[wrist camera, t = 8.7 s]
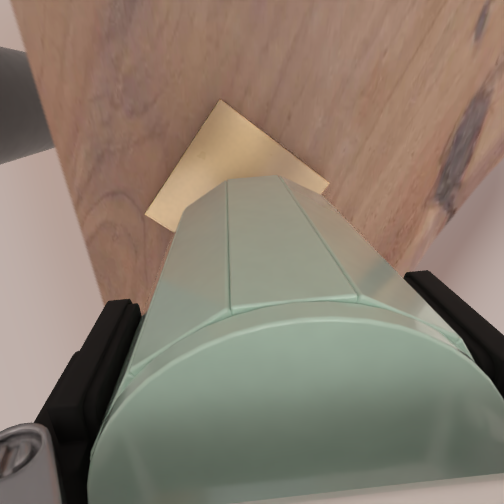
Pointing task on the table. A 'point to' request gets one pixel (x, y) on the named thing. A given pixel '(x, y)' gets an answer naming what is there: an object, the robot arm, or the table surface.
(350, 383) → the cup
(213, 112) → the cup stand
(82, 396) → the robot arm
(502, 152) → the table surface
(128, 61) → the table surface
